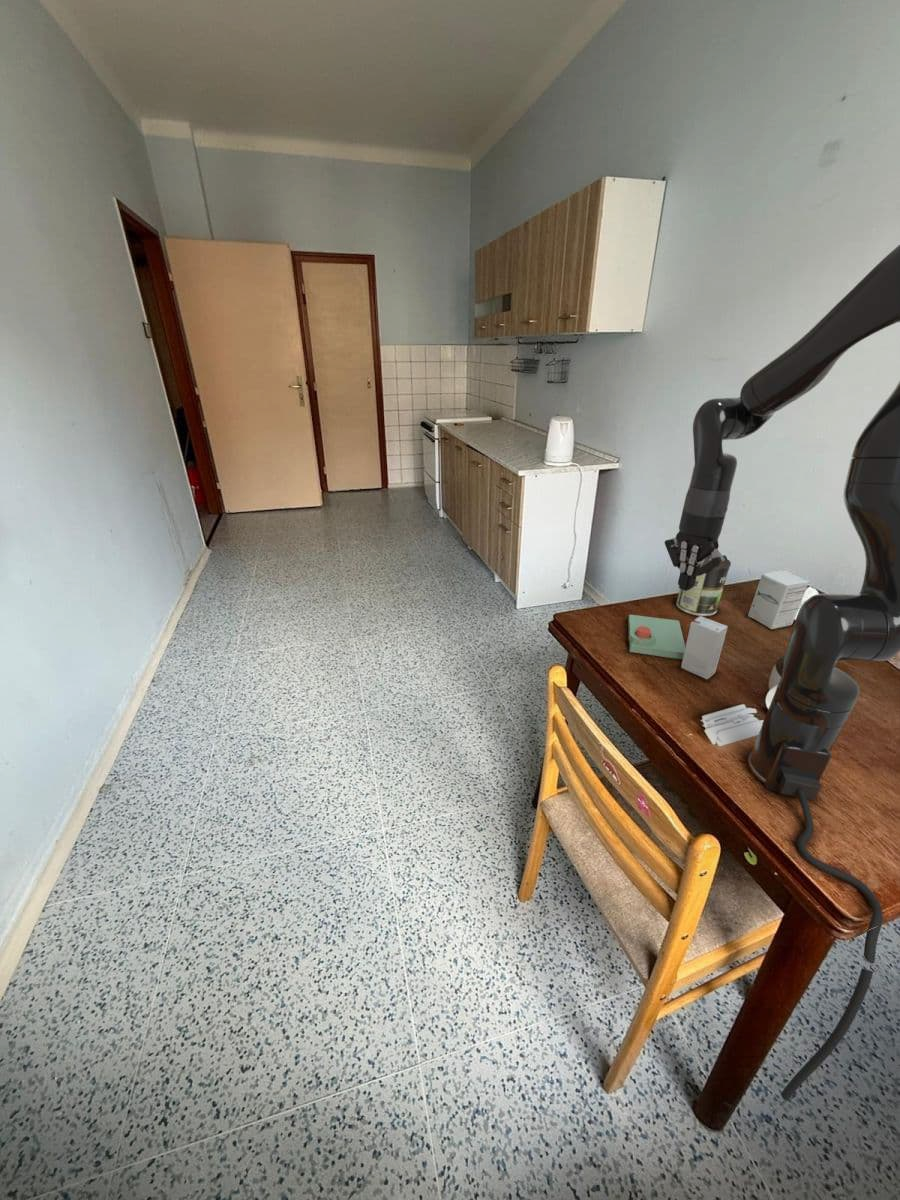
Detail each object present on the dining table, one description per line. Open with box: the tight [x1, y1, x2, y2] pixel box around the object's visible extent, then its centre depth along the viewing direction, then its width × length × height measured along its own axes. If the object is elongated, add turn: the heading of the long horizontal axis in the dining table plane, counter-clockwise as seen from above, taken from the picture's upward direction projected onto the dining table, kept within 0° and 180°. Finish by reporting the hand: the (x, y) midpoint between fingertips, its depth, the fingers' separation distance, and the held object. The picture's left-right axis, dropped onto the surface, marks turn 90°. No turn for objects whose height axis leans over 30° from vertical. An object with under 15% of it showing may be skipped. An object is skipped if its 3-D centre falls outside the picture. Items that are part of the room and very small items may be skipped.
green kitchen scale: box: [627, 614, 686, 660], centre depth 115 cm, size 15×12×4 cm
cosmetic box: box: [680, 616, 729, 680], centre depth 101 cm, size 6×4×12 cm
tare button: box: [636, 626, 651, 639], centre depth 111 cm, size 3×3×2 cm
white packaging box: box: [747, 569, 810, 630], centre depth 119 cm, size 7×7×13 cm
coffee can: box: [675, 554, 732, 617], centre depth 126 cm, size 10×10×14 cm
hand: (685, 588), depth 99 cm, fingers closed
